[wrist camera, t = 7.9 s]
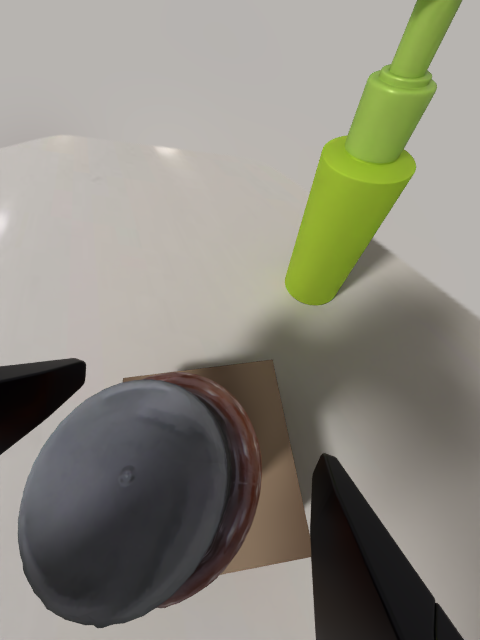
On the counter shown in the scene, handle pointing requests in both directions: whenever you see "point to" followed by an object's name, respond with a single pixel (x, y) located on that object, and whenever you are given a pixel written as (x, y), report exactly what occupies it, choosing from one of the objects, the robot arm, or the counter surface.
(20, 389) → the robot arm
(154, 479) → the supplement bottle
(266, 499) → the walnut stand
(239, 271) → the counter surface
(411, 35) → the soap dispenser
